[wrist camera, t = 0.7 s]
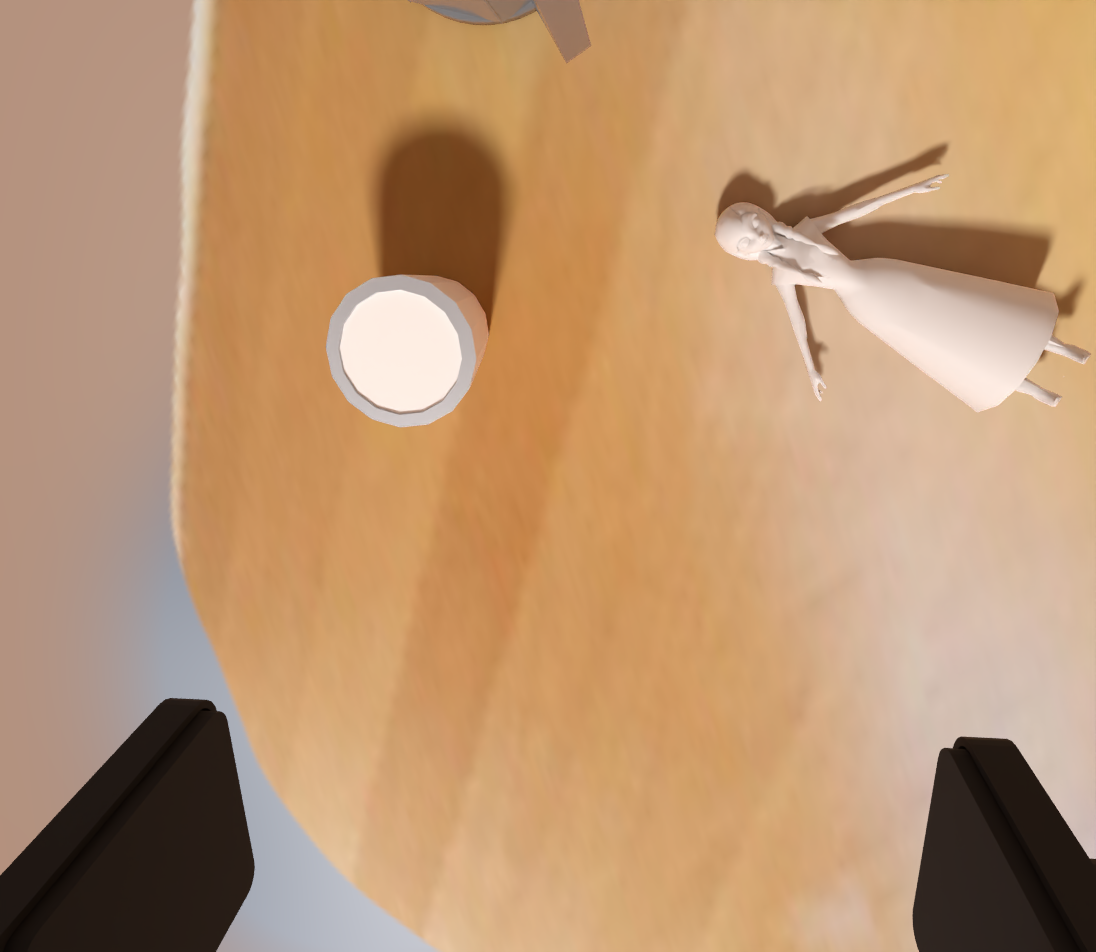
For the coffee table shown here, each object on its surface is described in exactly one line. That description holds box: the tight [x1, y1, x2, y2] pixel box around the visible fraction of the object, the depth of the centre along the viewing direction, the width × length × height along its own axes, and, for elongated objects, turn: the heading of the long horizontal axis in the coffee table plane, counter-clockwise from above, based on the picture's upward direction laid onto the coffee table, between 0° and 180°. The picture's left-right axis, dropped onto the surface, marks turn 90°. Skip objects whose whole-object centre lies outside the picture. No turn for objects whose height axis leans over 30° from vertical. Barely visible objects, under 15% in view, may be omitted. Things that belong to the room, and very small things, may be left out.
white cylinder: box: [326, 275, 489, 427], centre depth 40 cm, size 7×7×7 cm
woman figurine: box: [715, 174, 1091, 412], centre depth 39 cm, size 12×4×18 cm
